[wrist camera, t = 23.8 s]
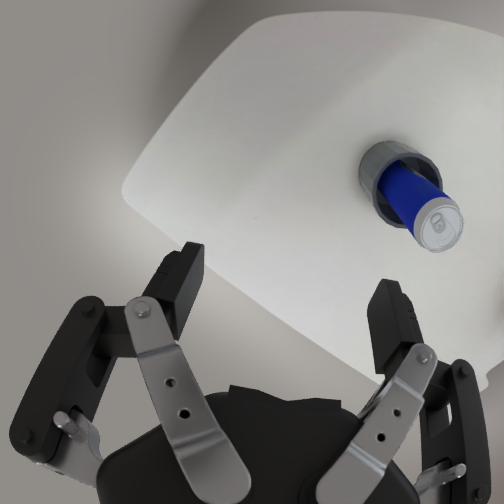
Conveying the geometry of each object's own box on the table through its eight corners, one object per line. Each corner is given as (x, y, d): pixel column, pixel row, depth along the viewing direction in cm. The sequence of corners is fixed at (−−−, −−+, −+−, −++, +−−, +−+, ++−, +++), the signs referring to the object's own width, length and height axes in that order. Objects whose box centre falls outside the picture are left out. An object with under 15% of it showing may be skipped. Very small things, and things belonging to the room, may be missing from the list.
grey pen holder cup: (362, 136, 32) (378, 147, 26) (424, 146, 31) (448, 159, 25) (354, 202, 37) (366, 225, 31) (413, 208, 36) (433, 231, 30)
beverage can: (415, 179, 33) (473, 233, 20) (387, 202, 35) (431, 265, 22) (395, 149, 31) (453, 189, 19) (365, 173, 34) (407, 226, 21)
